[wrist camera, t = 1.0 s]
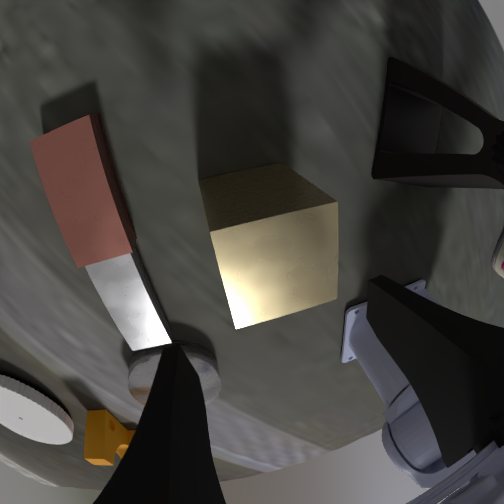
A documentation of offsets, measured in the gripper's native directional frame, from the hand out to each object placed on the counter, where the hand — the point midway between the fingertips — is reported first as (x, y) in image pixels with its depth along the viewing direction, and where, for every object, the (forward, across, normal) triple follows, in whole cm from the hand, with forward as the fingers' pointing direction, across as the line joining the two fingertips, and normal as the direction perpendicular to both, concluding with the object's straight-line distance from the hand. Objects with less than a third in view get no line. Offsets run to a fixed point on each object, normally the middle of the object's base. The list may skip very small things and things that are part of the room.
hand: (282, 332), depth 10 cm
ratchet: (+10, +8, +3) cm, 13 cm away
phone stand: (+10, -14, -4) cm, 18 cm away
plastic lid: (+10, +31, +13) cm, 35 cm away
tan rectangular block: (+9, -1, -1) cm, 9 cm away
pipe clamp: (+10, +20, +22) cm, 31 cm away
